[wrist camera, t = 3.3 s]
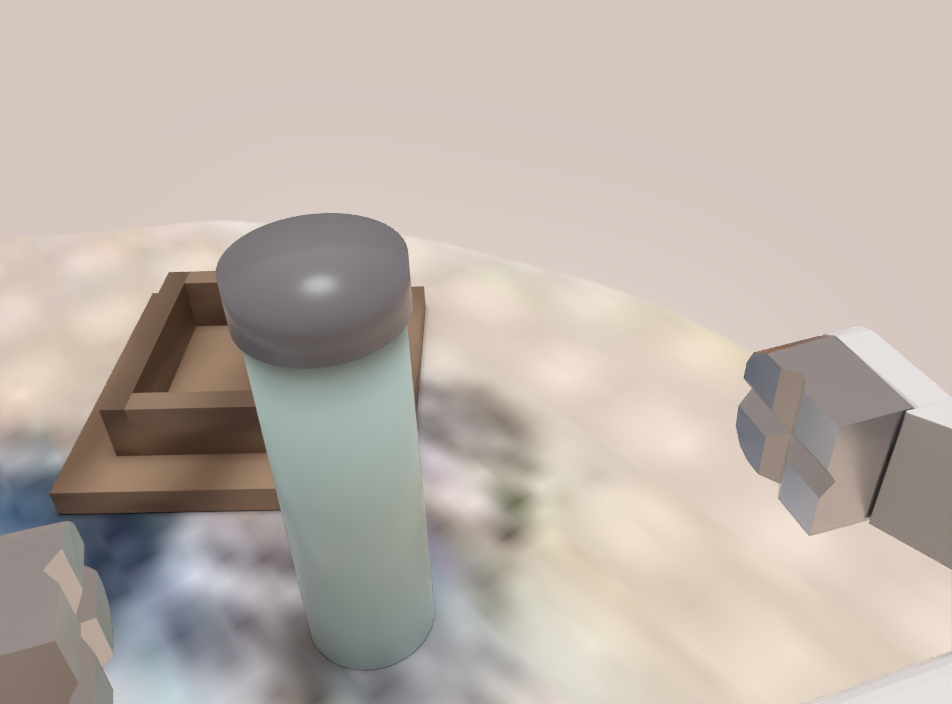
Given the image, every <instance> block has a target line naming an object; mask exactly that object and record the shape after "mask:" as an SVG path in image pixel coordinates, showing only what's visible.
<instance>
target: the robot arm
mask: <svg viewBox="0 0 952 704" xmlns="http://www.w3.org/2000/svg"><path fill="white" fill-rule="evenodd" d="M744 379H745V381H746V382H747V383H748V384H749V386H750V387H751V388H752V389H751V391H750V392H749V393H748V394H747V396H746V397H745V398H744V399H743V401H742V402H741V403H740V404H739V407H738V414H737V421H736V428H737V433H738V438H739V443H740V446H741V448H742V450H743V452H744V454H745V456H746V458H747V460H748V462H749V463H750V464H751V465H752V467H753V468H754V469H755V471H756V472H757V473H758V474H759V475H761V476H764V477H766V478H768V479H770V480H773V481H775V482H777V483H779V494H778V499H779V500H780V501H781V503H782V504H783V505H784V506H785V507H786V509H787V510H788V511H789V512H790V513H791V515H792V516H793V517H794V518H795V520H796V521H797V522H798V523H799V524H800V526H801V527H802V528H803V529H804V530H805V532H806V533H807V534H808V535H809V536H811V535H815V534H819V533H823V532H826V531H830V530H834V529H837V528H841V527H845V526H849V525H852V524H856V523H860V522H863V521H867V520H870V521H869V524H871V525H873V526H874V527H876V528H878V529H880V530H882V531H883V532H885V533H887V534H889V535H891V536H892V537H894V538H896V539H898V540H900V541H901V542H903V543H905V544H907V545H909V546H910V547H912V548H914V549H916V550H918V551H919V552H921V553H923V554H925V555H927V556H928V557H930V558H932V559H934V560H936V561H937V562H939V563H941V564H943V565H945V566H946V567H948V568H950V569H952V397H951V396H949V395H948V394H947V393H946V392H945V391H943V390H942V389H941V388H940V387H939V386H938V385H936V384H935V383H934V382H933V381H932V380H931V379H929V378H928V377H927V376H926V375H925V374H923V373H922V372H921V371H920V370H919V369H917V368H916V367H915V366H914V365H913V364H911V363H910V362H909V361H908V360H907V359H906V358H904V357H903V356H902V355H901V354H900V353H898V352H897V351H896V350H895V349H894V348H892V347H891V346H890V345H889V344H888V343H887V342H885V341H884V340H883V339H882V338H881V337H879V336H878V335H877V334H876V333H875V332H873V331H872V330H871V329H869V328H866V327H863V326H860V325H858V326H854V327H850V328H846V329H842V330H839V331H835V332H831V333H828V334H824V335H823V336H817V337H813V338H809V339H805V340H801V341H797V342H794V343H790V344H785V345H781V346H778V347H774V348H770V349H766V350H762V351H758V352H754V353H753V354H752V356H751V357H750V359H749V360H748V362H747V364H746V369H745V374H744ZM112 655H113V628H112V621H111V614H110V607H109V603H108V600H107V596H106V593H105V590H104V586H103V584H102V582H101V579H100V577H99V575H98V573H97V571H96V570H94V569H91V568H89V567H87V566H85V565H84V542H83V540H82V538H81V536H80V534H79V533H78V531H77V529H76V527H75V525H74V523H72V522H69V521H64V522H59V523H55V524H50V525H46V526H41V527H37V528H32V529H28V530H23V531H19V532H14V533H10V534H5V535H1V536H0V704H113V689H112V687H111V685H110V683H109V681H108V679H107V676H106V674H105V672H104V670H103V668H104V667H105V665H106V664H107V662H108V661H109V660H110V658H111V657H112ZM801 704H952V651H951V652H948V653H945V654H942V655H939V656H936V657H933V658H930V659H928V660H925V661H922V662H919V663H916V664H913V665H910V666H908V667H905V668H902V669H899V670H896V671H893V672H890V673H887V674H885V675H882V676H879V677H876V678H873V679H870V680H867V681H864V682H862V683H859V684H856V685H853V686H850V687H847V688H844V689H841V690H839V691H836V692H833V693H830V694H827V695H824V696H821V697H818V698H816V699H813V700H810V701H807V702H804V703H801Z"/></svg>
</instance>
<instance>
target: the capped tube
mask: <svg viewBox="0 0 952 704" xmlns="http://www.w3.org/2000/svg"><path fill="white" fill-rule="evenodd" d="M216 279H217V284H218V288H219V292H220V296H221V300H222V304H223V308H224V312H225V316H226V320H227V324H228V328H229V332H230V335H231V338H232V340H233V342H234V343H235V344H236V345H237V347H238V348H239V349H240V350H242V352H243V356H244V360H245V364H246V368H247V372H248V376H249V381H250V385H251V389H252V393H253V397H254V401H255V405H256V410H257V414H258V418H259V422H260V426H261V430H262V434H263V438H264V443H265V447H266V451H267V455H268V459H269V463H270V467H271V472H272V476H273V480H274V484H275V488H276V492H277V496H278V501H279V505H280V509H281V513H282V517H283V521H284V525H285V530H286V534H287V538H288V542H289V546H290V550H291V554H292V559H293V563H294V567H295V571H296V575H297V579H298V583H299V587H300V592H301V596H302V600H303V604H304V608H305V612H306V616H307V621H308V625H309V629H310V633H311V637H312V639H313V642H314V643H315V645H316V647H317V648H318V650H319V651H320V652H321V653H322V654H323V655H324V656H325V657H326V658H328V659H329V660H331V661H332V662H334V663H336V664H338V665H340V666H343V667H347V668H350V669H356V670H373V669H379V668H384V667H387V666H390V665H393V664H395V663H398V662H400V661H402V660H403V659H405V658H407V657H408V656H409V655H411V654H412V653H413V652H415V651H416V650H417V649H418V648H419V647H420V646H421V644H422V643H423V642H424V641H425V639H426V638H427V636H428V634H429V632H430V630H431V628H432V625H433V621H434V614H435V609H434V597H433V587H432V576H431V566H430V556H429V545H428V535H427V525H426V514H425V504H424V494H423V483H422V473H421V463H420V452H419V442H418V432H417V421H416V411H415V401H414V391H413V380H412V370H411V360H410V349H409V339H408V329H407V324H408V322H409V320H410V318H411V315H412V310H413V302H412V291H411V280H410V269H409V258H408V249H407V245H406V243H405V241H404V239H403V238H402V237H401V236H400V235H399V233H397V232H396V231H395V230H394V229H393V228H391V227H389V226H387V225H386V224H384V223H381V222H379V221H377V220H373V219H370V218H367V217H362V216H358V215H351V214H340V213H323V214H309V215H302V216H296V217H291V218H287V219H283V220H279V221H276V222H273V223H270V224H267V225H265V226H262V227H260V228H257V229H255V230H253V231H251V232H249V233H248V234H246V235H244V236H243V237H241V238H240V239H238V240H237V241H236V242H234V243H233V244H232V245H231V246H230V247H229V248H228V249H227V250H226V251H225V252H224V254H223V255H222V256H221V258H220V260H219V262H218V264H217V268H216Z"/></svg>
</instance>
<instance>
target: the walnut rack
mask: <svg viewBox="0 0 952 704" xmlns="http://www.w3.org/2000/svg"><path fill="white" fill-rule="evenodd" d="M411 291H412V302H413V310H412V315H411V318H410V320H409V322H408V324H407V329H408V339H409V349H410V360H411V370H412V380H413V391H414V401H415V411H416V416H417V404H418V391H419V379H420V366H421V354H422V342H423V329H424V317H425V294H424V287H411ZM50 496H51V498H52V500H53V502H54V504H55V506H56V508H57V511H58V513H59V514H94V513H142V512H191V511H239V510H281V509H280V505H279V501H278V496H277V492H276V488H275V484H274V480H273V476H272V472H271V467H270V463H269V459H268V455H267V451H266V447H265V443H264V438H263V434H262V430H261V426H260V422H259V418H258V414H257V410H256V405H255V401H254V397H253V393H252V389H251V385H250V381H249V376H248V372H247V368H246V364H245V360H244V356H243V352H242V350H240V349H239V348H238V347H237V345H236V344H235V343H234V342H233V340H232V338H231V335H230V332H229V328H228V324H227V320H226V316H225V312H224V308H223V304H222V300H221V296H220V292H219V288H218V284H217V279H216V271H201V272H169V273H168V275H167V277H166V279H165V281H164V283H163V285H162V287H161V289H160V291H159V293H153V294H152V296H151V298H150V300H149V302H148V304H147V306H146V308H145V309H144V311H143V313H142V315H141V317H140V319H139V321H138V323H137V325H136V327H135V329H134V331H133V333H132V335H131V337H130V339H129V340H128V342H127V344H126V346H125V348H124V350H123V352H122V354H121V356H120V358H119V360H118V362H117V364H116V366H115V368H114V369H113V371H112V373H111V375H110V377H109V379H108V381H107V383H106V385H105V387H104V389H103V391H102V393H101V395H100V397H99V398H98V400H97V402H96V404H95V406H94V408H93V410H92V412H91V414H90V416H89V418H88V420H87V422H86V424H85V426H84V428H83V429H82V431H81V433H80V435H79V437H78V439H77V441H76V443H75V445H74V447H73V449H72V451H71V453H70V455H69V457H68V458H67V460H66V462H65V464H64V466H63V468H62V470H61V472H60V474H59V476H58V478H57V480H56V482H55V484H54V486H53V487H52V489H51V491H50Z"/></svg>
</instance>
